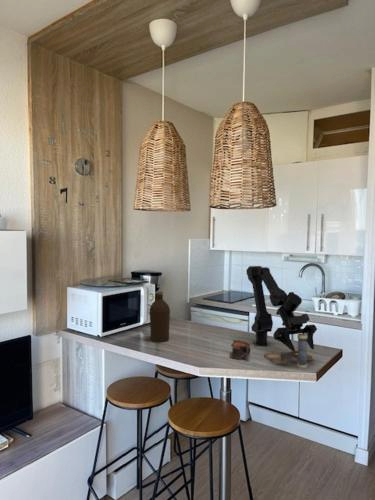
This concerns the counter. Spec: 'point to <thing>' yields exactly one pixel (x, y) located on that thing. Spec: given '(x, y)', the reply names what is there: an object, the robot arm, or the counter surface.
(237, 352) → the pottery mug
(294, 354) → the board
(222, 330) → the counter surface
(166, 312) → the olive oil
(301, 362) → the spool
